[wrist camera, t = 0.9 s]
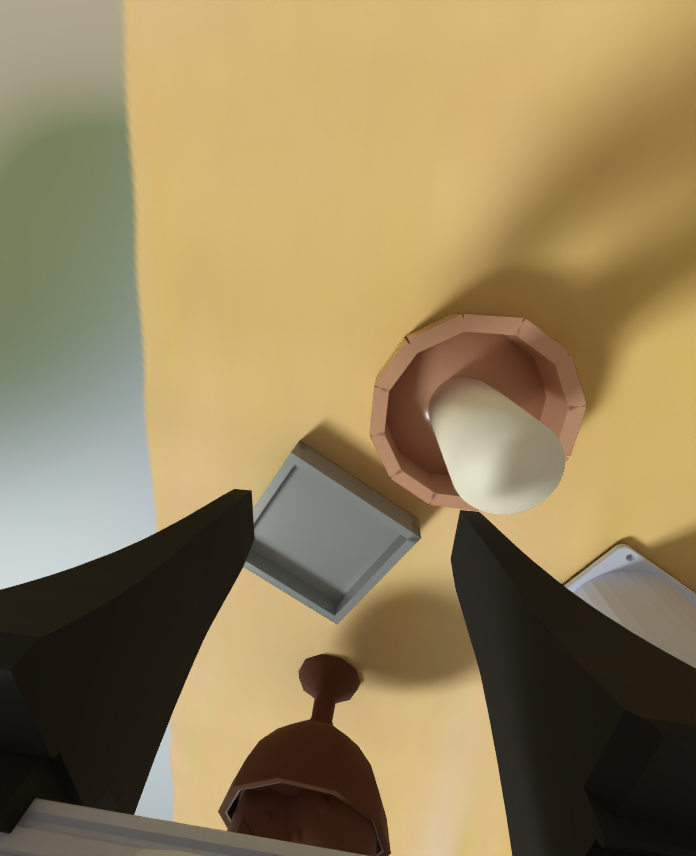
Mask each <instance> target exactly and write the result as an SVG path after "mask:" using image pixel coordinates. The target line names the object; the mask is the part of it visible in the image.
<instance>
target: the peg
mask: <svg viewBox="0 0 696 856" xmlns="http://www.w3.org/2000/svg"><path fill="white" fill-rule="evenodd" d="M428 414H429V419H430V422H431V424H432V427H433V430H434V433H435V436H436V438H437V441H438V444H439V447H440V450H441V452H442V455H443V458H444V461H445V463H446V466H447V469H448V472H449V475H450V477H451V480H452V483H453V486H454V488H455V490H456V491H457V493H458V494H459V496H460V497H461V498H462V499H463V500H464V501H465V502H467V503H468V504H469V505H471V506H473V507H474V508H476V509H479V510H481V511H484V512H487V513H493V514H512V513H518V512H522V511H525V510H527V509H530V508H532V507H534V506H536V505H538V504H539V503H541V502H542V501H544V500H545V499H546V498H547V497H548V496H549V495H550V494H551V493H552V492H553V491H554V490H555V488H556V487H557V486H558V484H559V482H560V480H561V478H562V475H563V472H564V468H565V454H564V450H563V447H562V444H561V442H560V440H559V439H558V437H557V436H556V435H555V433H554V432H553V431H552V430H551V429H549V428H548V427H547V426H546V425H544V424H543V423H542V422H540V421H539V420H537V419H536V418H535V417H533V416H532V415H531V414H529V413H528V412H526V411H525V410H524V409H522V408H521V407H520V406H518V405H517V404H515V403H514V402H513V401H511V400H510V399H509V398H507V397H506V396H504V395H503V394H502V393H500V392H499V391H498V390H496V389H495V388H493V387H492V386H491V385H489V384H488V383H487V382H485V381H483V380H482V379H480V378H477V377H474V376H458V377H454V378H451V379H449V380H447V381H445V382H444V383H442V384H441V385H440V386H439V387H438V388H437V389H436V390H435V391H434V393H433V395H432V396H431V399H430V401H429V406H428Z"/></svg>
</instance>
